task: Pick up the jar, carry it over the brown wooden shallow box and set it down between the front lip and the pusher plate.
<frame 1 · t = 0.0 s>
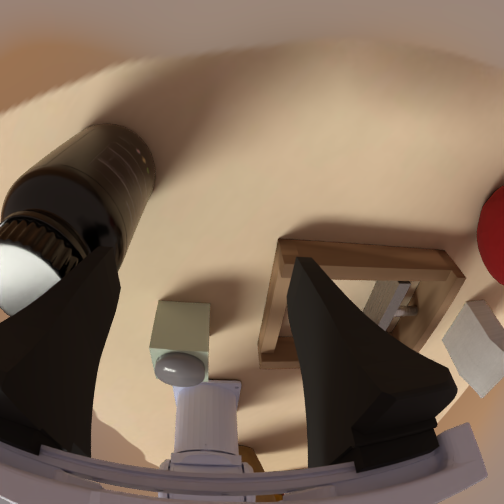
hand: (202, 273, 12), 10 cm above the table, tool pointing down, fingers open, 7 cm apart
brown wooden shallow box: (352, 300, 28), on the table
supplement bottle: (111, 168, 19), on the table, touching gripper
plant pot: (234, 449, 50), on the table
tea bag: (462, 319, 32), on the table
apple: (494, 211, 23), on the table
jar: (185, 319, 28), on the table
pusher plate: (394, 311, 27), point 1 cm above the table, slide at 0.0 cm
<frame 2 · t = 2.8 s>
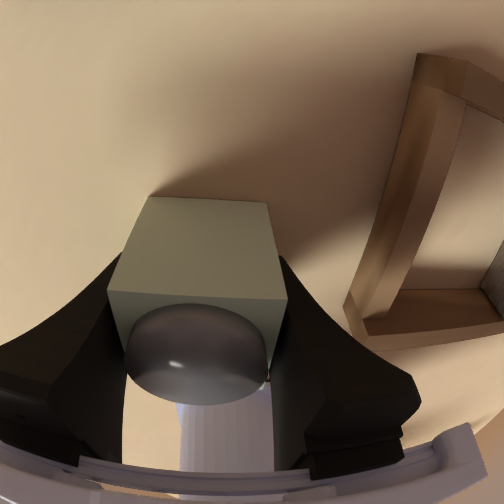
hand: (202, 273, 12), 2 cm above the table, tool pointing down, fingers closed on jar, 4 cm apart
brown wooden shallow box: (497, 218, 13), on the table
jar: (204, 248, 13), on the table, touching gripper
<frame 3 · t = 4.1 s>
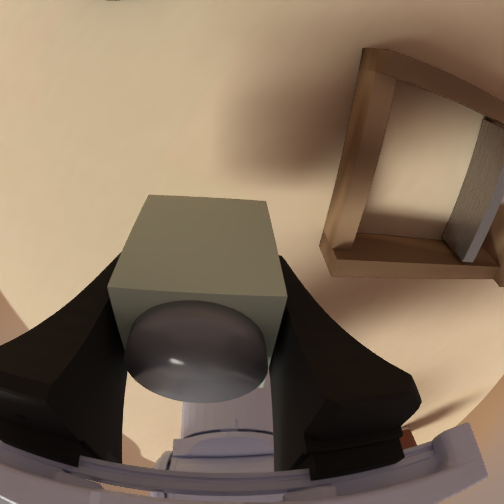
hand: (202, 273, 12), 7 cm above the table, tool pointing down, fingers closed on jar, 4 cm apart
brown wooden shallow box: (447, 176, 17), on the table
coffee cup: (393, 433, 47), on the table
jar: (204, 246, 13), point 5 cm above the table, touching gripper
pusher plate: (496, 196, 17), point 1 cm above the table, slide at 0.0 cm
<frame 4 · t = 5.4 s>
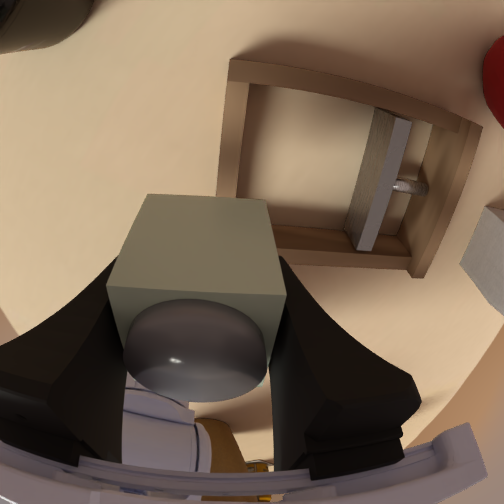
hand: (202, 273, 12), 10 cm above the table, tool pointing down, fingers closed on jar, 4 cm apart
brown wooden shallow box: (337, 166, 20), on the table
supplement bottle: (56, 2, 12), on the table
condiment: (250, 464, 59), on the table
plant pot: (206, 425, 43), on the table
tea bag: (482, 236, 25), on the table
apple: (498, 78, 16), on the table
jar: (204, 245, 13), point 9 cm above the table, touching gripper
pusher plate: (397, 184, 20), point 2 cm above the table, slide at 0.0 cm
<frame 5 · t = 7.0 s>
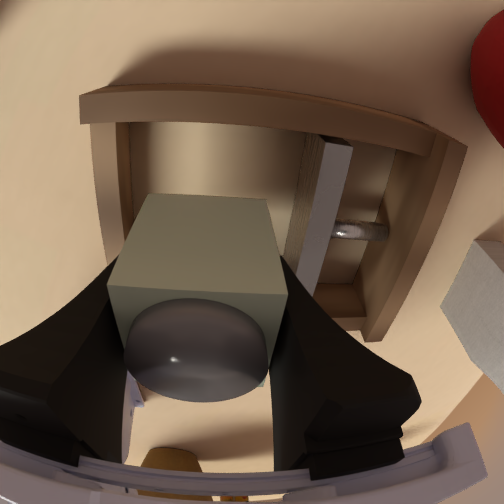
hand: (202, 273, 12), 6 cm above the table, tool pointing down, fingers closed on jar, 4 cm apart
brown wooden shallow box: (260, 208, 16), on the table
condiment: (229, 484, 55), on the table
plant pot: (172, 453, 39), on the table
tea bag: (469, 273, 21), on the table
apple: (494, 74, 12), on the table
jar: (204, 245, 13), point 4 cm above the table, touching gripper
pusher plate: (343, 228, 16), point 1 cm above the table, slide at 0.0 cm
when the fingers open (3 cm above the table, at t = 8.4 s): jar drops 2 cm, resting in brown wooden shallow box.
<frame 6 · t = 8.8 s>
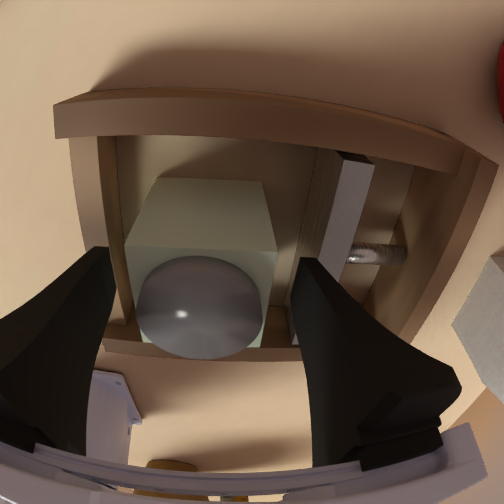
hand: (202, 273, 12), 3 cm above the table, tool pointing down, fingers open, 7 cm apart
brown wooden shallow box: (265, 229, 15), on the table
condiment: (230, 492, 53), on the table
plant pot: (172, 464, 37), on the table
tea bag: (483, 290, 19), on the table
jar: (207, 223, 14), resting in brown wooden shallow box
pusher plate: (357, 252, 14), point 2 cm above the table, slide at 0.0 cm
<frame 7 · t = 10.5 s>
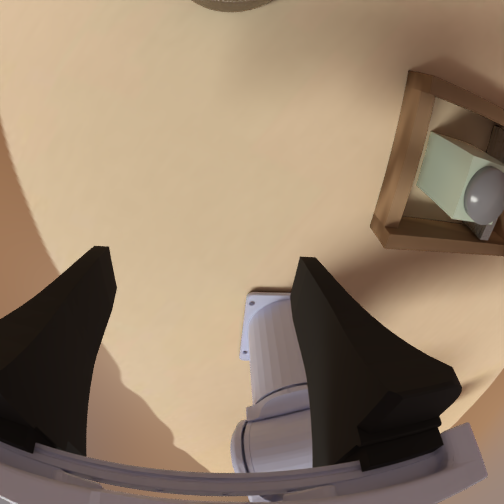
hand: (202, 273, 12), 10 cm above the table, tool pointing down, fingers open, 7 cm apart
brown wooden shallow box: (467, 170, 21), on the table
jar: (444, 163, 20), resting in brown wooden shallow box
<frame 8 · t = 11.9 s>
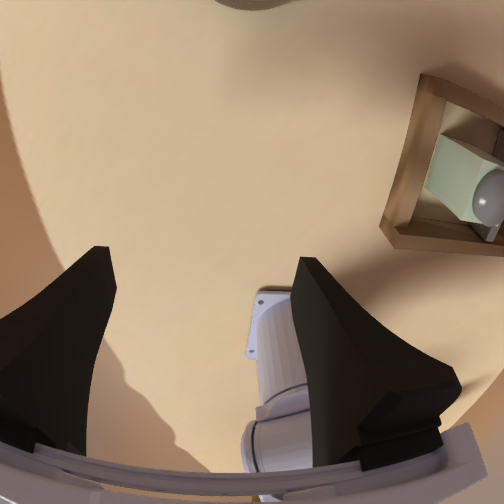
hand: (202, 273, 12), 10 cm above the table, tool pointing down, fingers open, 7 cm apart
brown wooden shallow box: (473, 173, 21), on the table
jar: (452, 165, 20), resting in brown wooden shallow box
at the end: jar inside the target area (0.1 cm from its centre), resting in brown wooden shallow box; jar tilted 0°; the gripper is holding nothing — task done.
